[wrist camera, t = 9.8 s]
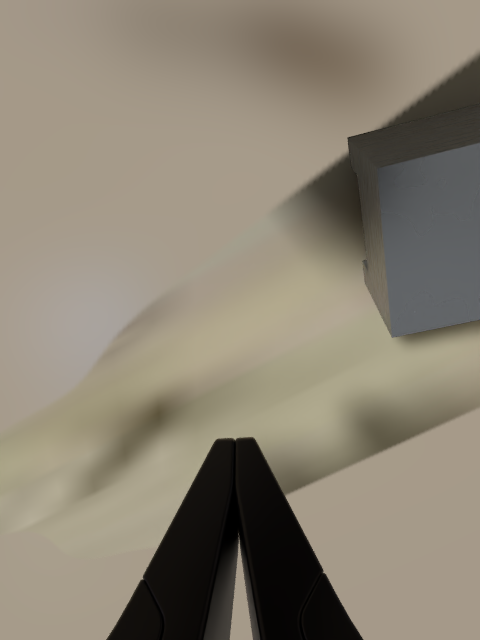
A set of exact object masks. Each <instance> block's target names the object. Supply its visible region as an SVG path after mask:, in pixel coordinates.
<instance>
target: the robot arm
mask: <svg viewBox="0 0 480 640" xmlns="http://www.w3.org/2000/svg"><path fill="white" fill-rule="evenodd" d="M239 540H240V549H241V556H242V564H243V571H244V579H245V586H246V593H247V600H248V607H249V614H250V621H251V628H252V635H253V640H363V639H362V637H361V635H360V634H359V632H358V631H357V629H356V627H355V626H354V624H353V623H352V621H351V619H350V618H349V616H348V614H347V612H346V611H345V609H344V607H343V605H342V603H341V602H340V600H339V598H338V597H337V595H336V593H335V591H334V589H333V587H332V585H331V583H330V581H329V579H328V578H327V576H326V574H325V573H323V569H322V566H321V565H320V563H319V561H318V559H317V557H316V555H315V553H314V551H313V549H312V547H311V545H310V544H309V541H308V540H307V538H306V536H305V534H304V532H303V530H302V528H301V526H300V524H299V522H298V520H297V519H296V517H295V515H294V513H293V511H292V509H291V507H290V505H289V503H288V501H287V499H286V497H285V495H284V493H283V492H282V490H281V488H280V486H279V484H278V482H277V480H276V478H275V476H274V474H273V472H272V470H271V469H270V467H269V465H268V463H267V461H266V459H265V457H264V455H263V453H262V451H261V449H260V447H259V445H258V444H257V442H256V440H255V439H254V438H253V437H245V438H237V439H236V441H235V440H234V439H233V438H221V439H217V440H216V441H215V442H214V444H213V446H212V447H211V449H210V451H209V453H208V455H207V457H206V459H205V461H204V462H203V464H202V466H201V468H200V470H199V472H198V474H197V476H196V477H195V479H194V481H193V483H192V485H191V487H190V489H189V491H188V492H187V494H186V496H185V498H184V500H183V502H182V504H181V506H180V507H179V509H178V511H177V513H176V515H175V517H174V519H173V521H172V522H171V524H170V526H169V528H168V530H167V532H166V534H165V536H164V537H163V539H162V541H161V543H160V545H159V547H158V549H157V551H156V553H155V554H154V556H153V558H152V560H151V562H150V564H149V566H148V567H147V569H146V571H145V573H144V575H143V579H144V580H141V581H140V582H139V584H138V586H137V588H136V590H135V592H134V593H133V595H132V597H131V599H130V601H129V603H128V604H127V606H126V608H125V610H124V611H123V613H122V615H121V617H120V618H119V620H118V622H117V624H116V625H115V627H114V629H113V630H112V632H111V633H110V635H109V636H108V638H107V639H106V640H230V629H231V619H232V609H233V599H234V588H235V578H236V568H237V557H238V544H239Z"/></svg>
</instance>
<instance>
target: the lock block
mask: <svg viewBox="0 0 480 640" xmlns="http://www.w3.org/2000/svg"><path fill="white" fill-rule="evenodd" d="M347 139H348V148H349V152H350V161H351V168H352V169H353V171H354V172H355V173H356V174H357V177H358V186H359V195H360V204H361V213H362V222H363V231H364V240H365V248H366V257H367V260H364V261H362V262H363V271H364V279H365V284H366V286H367V288H368V290H369V292H370V294H371V296H372V298H373V300H374V302H375V304H376V306H377V308H378V310H379V313H380V315H381V317H382V319H383V321H384V323H385V325H386V327H387V329H388V331H389V333H390V335H391V337H392V338H393V337H397V336H402V335H407V334H412V333H417V332H422V331H427V330H432V329H437V328H442V327H447V326H452V325H456V324H461V323H466V322H471V321H476V320H480V104H476V105H472V106H469V107H465V108H461V109H457V110H453V111H449V112H446V113H442V114H438V115H434V116H430V117H426V118H423V119H419V120H415V121H411V122H407V123H403V124H400V125H396V126H392V127H388V128H384V129H380V130H377V131H376V130H374V131H370V132H366V133H363V134H359V135H355V136H351V137H348V138H347Z"/></svg>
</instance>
